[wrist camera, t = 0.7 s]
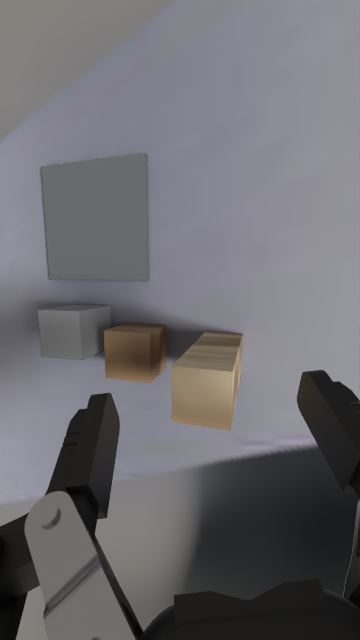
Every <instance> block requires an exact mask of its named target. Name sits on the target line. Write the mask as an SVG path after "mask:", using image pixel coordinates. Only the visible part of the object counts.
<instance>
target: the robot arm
mask: <svg viewBox="0 0 360 640" xmlns="http://www.w3.org/2000/svg"><path fill="white" fill-rule="evenodd" d="M297 403H298V407H299V410H300V412H301V414H302V416H303V418H304V420H305V422H306V423H307V425H308V427H309V429H310V431H311V433H312V435H313V437H314V439H315V440H316V442H317V444H318V446H319V448H320V450H321V452H322V454H323V456H324V457H325V459H326V461H327V463H328V465H329V467H330V469H331V471H332V472H333V474H334V476H335V478H336V480H337V482H338V484H339V485H340V488H341V489H342V491H343V493H346V492H355V493H356V495H357V496H358V498H359V502H358V508H357V517H356V525H355V534H354V543H353V551H352V559H351V564H350V567H349V570H348V573H347V577H346V582H345V588H344V595H343V597H341V596H339V595H338V594H335V593H333V592H330V591H328V590H325V589H322V586H321V583H320V580H319V579H313V580H304V581H296V582H287V583H283V584H280V585H278V586H277V587H275V588H273V589H271V590H269V591H267V592H265V593H264V594H262V595H260V596H258V597H256V598H254V599H252V600H242V599H239V598H235V597H231V596H227V595H223V594H219V593H215V592H211V591H207V592H198V593H189V594H180V595H174V605H172V606H170V607H168V608H167V609H166V610H164V611H163V612H162V613H160V614H159V615H158V616H157V617H156V618H155V619H154V620H153V621H152V622H151V623H150V625H149V626H148V627H147V629H146V630H145V631H143V629H142V627H141V625H140V623H139V621H138V619H137V617H136V615H135V613H134V611H133V609H132V607H131V605H130V603H129V601H128V599H127V598H126V596H125V594H124V592H123V590H122V589H121V587H120V585H119V583H118V581H117V579H116V577H115V575H114V573H113V571H112V569H111V566H110V564H109V562H108V560H107V559H106V556H105V554H104V552H103V550H102V548H101V546H100V544H99V542H98V540H97V538H96V536H95V529H96V523H97V519H103V518H107V513H108V506H109V499H110V492H111V485H112V478H113V471H114V465H115V458H116V451H117V444H118V437H119V429H120V422H119V416H118V413H117V410H116V407H115V404H114V401H113V398H112V395H111V393H104V394H95V395H91V397H90V399H89V403H88V406H87V409H79V410H78V412H77V413H76V414H75V416H74V417H73V418H72V419H71V421H70V424H69V427H68V430H67V433H66V436H65V439H64V442H63V447H62V448H61V451H60V454H59V457H58V460H57V463H56V466H55V469H54V472H53V475H52V478H51V481H50V484H49V487H48V490H47V492H46V494H45V496H44V497H42V498H41V499H40V500H39V501H38V502H37V503H36V504H35V505H34V506H33V507H32V509H31V510H30V512H29V513H27V514H26V515H24V516H22V517H20V518H18V519H16V520H13V521H11V522H9V523H7V524H5V525H3V526H0V640H16V636H17V632H18V628H19V624H20V620H21V617H22V613H23V609H24V605H25V601H26V597H27V593H28V591H30V590H32V589H34V588H36V587H38V586H39V585H40V586H41V589H42V593H43V596H44V600H45V606H46V607H45V611H44V624H45V629H46V633H47V636H48V640H360V401H359V399H358V398H357V397H356V396H355V394H354V393H353V392H352V390H350V389H349V388H347V387H346V386H345V385H343V384H342V383H340V382H339V381H337V382H333V381H332V380H331V378H330V377H329V376H328V374H327V373H326V372H325V371H324V370H316V371H307V372H303V373H302V376H301V381H300V386H299V390H298V395H297Z"/></svg>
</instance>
